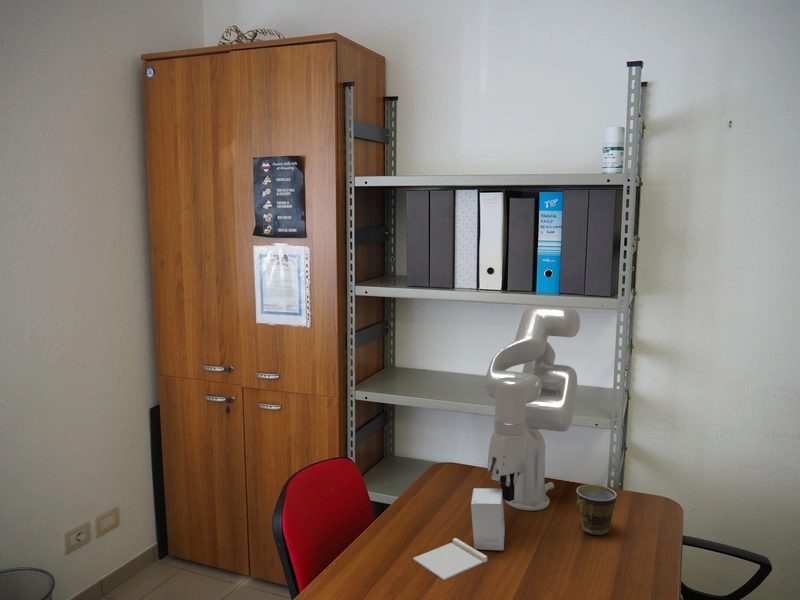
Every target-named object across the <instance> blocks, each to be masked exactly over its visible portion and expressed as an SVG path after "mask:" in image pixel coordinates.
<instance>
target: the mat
mask: <svg viewBox="0 0 800 600" xmlns="http://www.w3.org/2000/svg"><path fill="white" fill-rule="evenodd" d="M412 560H413V561H415V562H416V563H418V564H419V565H421V566H422V567H424V568H425V569H426V570H428V571H429V572H431V573H433V574H434V575H435V576H437V577H439V578H440V579H441V580H443V581H446V580H448V579H450V578H452V577H455V576H457V575H460V574H461V573H464V572H466V571H468V570H470V569H473V568H475V567H477V566H479V565H482V564H483V563H484V562H482V561H481V560H479V559H477V558H476V557H474V556H472V555H471V554H469V553H467V552H466V551H464V550H462V549H461V548H459V547H457V546H456V545H454V544H453V542H450V543H447V544H445V545H442V546H440V547H438V548H435V549H432V550H430V551H428V552H425V553H422V554H420V555H417V556H414V557H413V558H412Z"/></svg>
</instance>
